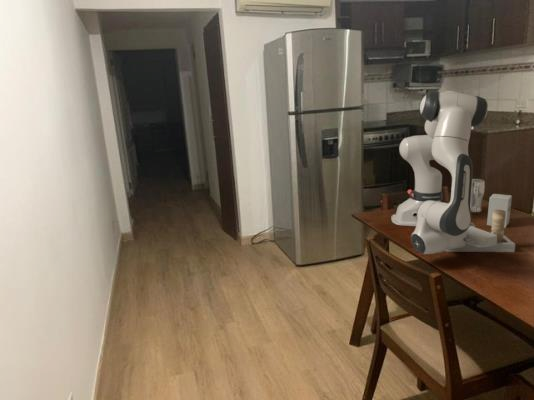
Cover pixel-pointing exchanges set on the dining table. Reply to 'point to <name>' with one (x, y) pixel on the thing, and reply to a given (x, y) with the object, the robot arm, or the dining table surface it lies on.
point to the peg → (498, 224)
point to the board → (499, 247)
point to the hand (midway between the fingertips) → (483, 229)
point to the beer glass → (477, 195)
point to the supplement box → (499, 207)
